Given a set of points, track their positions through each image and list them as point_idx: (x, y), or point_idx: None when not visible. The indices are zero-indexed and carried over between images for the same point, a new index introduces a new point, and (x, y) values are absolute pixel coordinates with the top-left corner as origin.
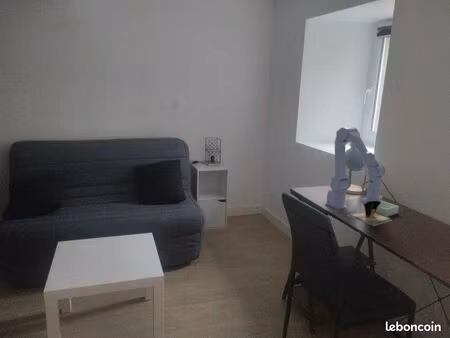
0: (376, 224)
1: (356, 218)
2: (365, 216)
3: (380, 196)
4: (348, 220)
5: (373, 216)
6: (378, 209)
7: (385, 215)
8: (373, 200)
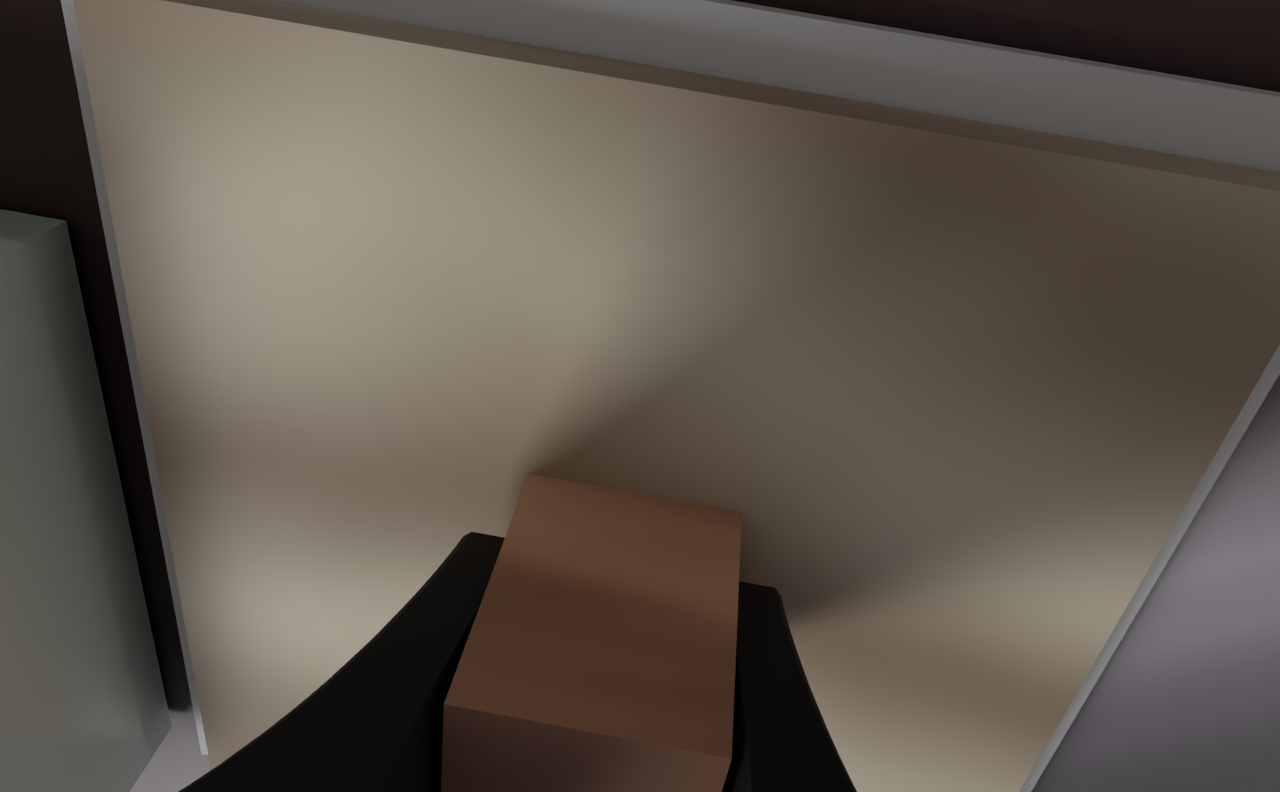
0: (1139, 127)
1: None
2: None
3: None
4: (1263, 788)
5: (564, 489)
6: None
7: (12, 265)
8: None
